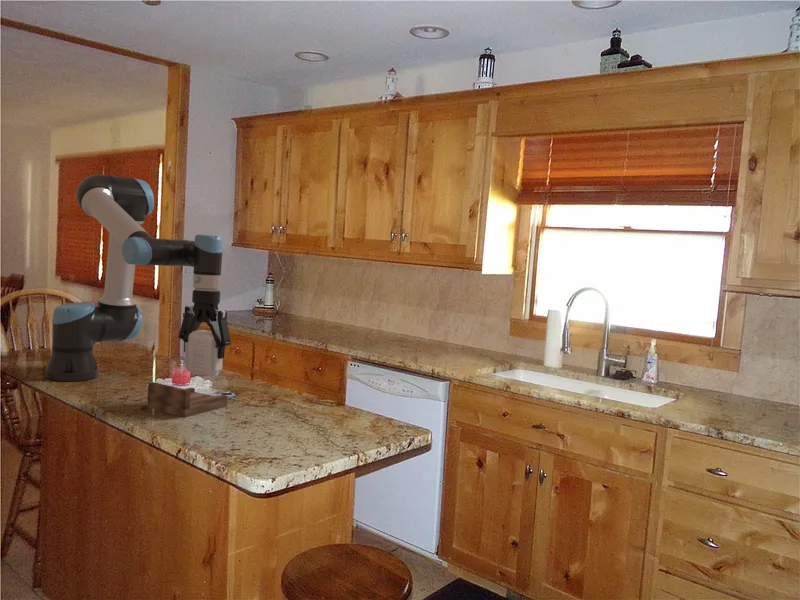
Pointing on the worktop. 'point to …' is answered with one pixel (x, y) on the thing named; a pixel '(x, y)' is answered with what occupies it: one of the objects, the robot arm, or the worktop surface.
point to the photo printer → (201, 353)
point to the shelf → (181, 400)
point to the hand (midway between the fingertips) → (203, 367)
